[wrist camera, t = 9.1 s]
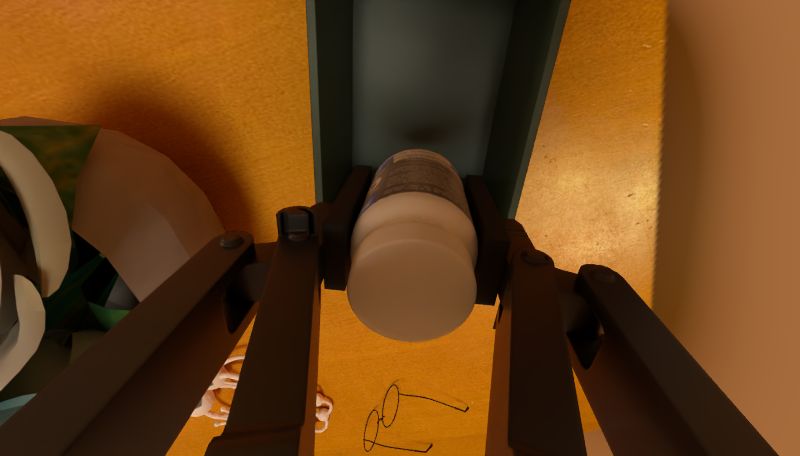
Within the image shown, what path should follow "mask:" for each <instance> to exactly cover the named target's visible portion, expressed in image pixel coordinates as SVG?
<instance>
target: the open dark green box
mask: <svg viewBox="0 0 800 456" xmlns="http://www.w3.org/2000/svg"><path fill="white" fill-rule="evenodd" d="M570 3H571V0H306V18H307V38H308V58H309V79H310V99H311V119H312V139H313V159H314V179H315V199H316V204H317V203H319V202H328V203H334V202H335V200H336V199H337V197H338V195H339V194H340V192H341V190H342V189H343V187H344V185H345V184H346V182H347V180H348V179H349V177H350V175H351V174H352V172H353V170H354V169H355V167H356V165H367V166H372V179H371V182H372V180H373V177H374V175H375V174H376V172H377V170H378V169H379V167H380V166H381V165H382V164H383V163H384V162H385V161H386V160H387V159H389V158H390V157H391V156H393V155H395V154H397V153H399V152H402V151H405V150H412V149H422V150H428V151H432V152H435V153H437V154H439V155H441V156H443V157H444V158H446V159H447V160H448V161H449V162H450V163H451V164H452V165H453V166H454V168H455V169H456V171H457V172H458V174H459V176H460V179H461V181H462V185H463V187H464V185H465V180H466V174H467V175H478V176H482V178H483V180H484V182H485V184H486V187H487V189H488V191H489V193H490V195H491V198H492V200H493V202H494V204H495V206H496V209H497V211H498V213H499V215H500V217H501V218H509V219H515V216H516V212H517V208H518V204H519V200H520V196H521V193H522V189H523V185H524V181H525V177H526V173H527V169H528V166H529V162H530V158H531V154H532V150H533V146H534V142H535V138H536V135H537V131H538V127H539V123H540V119H541V115H542V111H543V108H544V104H545V100H546V96H547V92H548V88H549V84H550V80H551V77H552V73H553V69H554V65H555V61H556V57H557V53H558V50H559V46H560V42H561V38H562V34H563V30H564V26H565V22H566V19H567V15H568V11H569V7H570Z"/></svg>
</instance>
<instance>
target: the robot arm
mask: <svg viewBox="0 0 800 456" xmlns="http://www.w3.org/2000/svg"><path fill="white" fill-rule="evenodd" d="M371 179H372V166H367V165H356V167H355V169H354V170H353V172H352V174H351V175H350V177H349V179H348V180H347V182H346V184H345V185H344V187H343V189H342V190H341V192H340V194H339V195H338V197H337V199H336V200H335V202H334V203H328V202H319V203H317V204H315V205H313V206H311V208H310V207H306V206H292V207H287V208H284V209H282V210H280V211H278V213H277V214H276V218H277V227H278V240H277V241H276V242H270V243H259V244H254V238H253V236H252V235H251V234H249V233H246V232H236V231H231V232H226V233H224V234H221V235H218V236H216V237H215V238H213V239H212V240H211V241H209V242H208V243H207V244H206V245H205V246H204V247H203V248H202V249H200V250H199V251H198V252H197V253H196V254H195V255H194V256H192V257H191V258H190V259H189V260H188V261H187V262H186V263H185V264H183V265H182V266H181V267H180V268H179V269H178V270H177V271H175V272H174V273H173V274H172V275H171V276H170V277H169V278H168V279H166V280H165V281H164V282H163V283H162V284H161V285H160V286H158V287H157V288H156V289H155V290H154V291H153V292H152V293H151V294H149V295H148V296H147V297H146V298H145V299H144V300H143V301H141V302H140V303H139V304H138V305H137V306H136V307H135V308H134V309H132V310H131V311H130V312H129V313H128V314H127V315H126V316H124V317H123V318H122V319H121V320H120V321H119V322H118V323H117V324H115V325H114V326H113V327H112V328H111V329H110V330H109V331H107V332H106V333H105V334H104V335H103V336H102V337H101V338H100V339H98V340H97V341H96V342H95V343H94V344H93V345H92V346H91V347H89V348H88V349H87V350H86V351H85V352H84V353H83V354H81V355H80V356H79V357H78V358H77V359H76V360H75V361H74V362H72V363H71V364H70V365H69V366H68V367H67V368H66V369H64V370H63V371H62V372H61V373H60V374H59V375H58V376H57V377H55V378H54V379H53V380H52V381H51V382H50V383H49V384H47V385H46V386H45V387H44V388H43V389H42V390H41V391H40V392H38V393H37V394H36V395H35V396H34V397H33V398H32V399H30V400H29V401H28V402H27V403H26V404H25V405H24V406H23V407H21V408H20V409H19V410H18V411H17V412H16V413H15V414H13V415H12V416H11V417H10V418H9V419H8V420H7V421H6V422H4V423H3V424H2V425H1V426H0V456H165V455H166V453H167V452H168V450H169V449H170V447H171V446H172V444H173V442H174V441H175V439H176V438H177V436H178V435H179V433H180V432H181V430H182V428H183V427H184V425H185V424H186V422H187V421H188V419H189V418H190V416H191V414H192V413H193V411H194V410H195V408H196V407H197V405H198V404H199V402H200V400H201V399H202V397H203V396H204V394H205V393H206V391H207V390H208V388H209V386H210V385H211V383H212V382H213V380H214V379H215V377H216V376H217V374H218V372H219V371H220V369H221V368H222V366H223V365H224V363H225V362H226V360H227V358H228V357H229V355H230V354H231V352H232V351H233V349H234V348H235V346H236V344H237V343H238V341H239V340H240V338H241V337H242V335H243V333H244V332H245V330H246V329H247V327H248V326H249V324H250V323H251V321H252V319H253V318H254V316H255V315H256V313H257V315H256V318H255V322H254V325H253V329H252V333H251V336H250V340H249V343H248V347H247V350H246V354H245V358H244V361H243V365H242V368H241V372H240V375H239V379H238V383H237V386H236V390H235V393H234V397H233V400H232V404H231V408H230V411H229V415H228V418H227V422H226V425H225V428H224V431H223V433H222V434H221V436H217V437H213V439H212V440H211V442H210V443H209V445H208V447H207V450H206V452H205V455H204V456H314V445H315V422H316V399H317V377H318V354H319V332H320V309H321V283H322V281H323V279H324V288H325V289H331V290H341V291H345V289H346V286H347V282H348V277H349V273H350V269H351V263H352V262H351V257H350V240H351V235H352V232H353V229H354V226H355V223H356V221H357V218H358V215H359V213H360V211H361V208H362V206H363V203H364V201H365V198H366V195H367V193H368V190H369V187H370V185H371ZM464 191H465V195H466V199H467V203H468V206H469V210H470V214H471V217H472V221H473V224H474V228H475V231H476V235H477V238H478V258H477V263H476V267H475V269H474V274H475V279H476V284H477V295H476V301H475V304H482V305H492V306H494V305H495V301H496V298H497V294H498V296H499V299H500V304H499V307H498V311H497V315H496V319H495V322H494V326H493V329H496V332H495V344H494V355H493V367H492V379H491V391H490V402H489V414H488V426H487V438H486V449H485V456H587V452H586V446H585V440H584V435H583V429H582V423H581V417H580V411H579V406H578V400H577V394H576V388H575V382H574V377H573V371H572V367H573V370H574V372H575V374H576V376H577V378H578V380H579V382H580V385H581V387H582V389H583V391H584V393H585V395H586V397H587V400H588V402H589V404H590V406H591V408H592V410H593V412H594V415H595V417H596V419H597V421H598V423H599V425H600V427H601V430H602V432H603V434H604V436H605V438H606V440H607V442H608V445H609V447H610V449H611V451H612V453H613V455H614V456H779V455H778V454H777V453H776V452H775V451H774V450H773V448H772V447H771V446H770V445H769V444H768V443H767V442H766V440H765V439H764V438H763V437H762V436H761V435H760V434H759V432H758V431H757V430H756V429H755V428H754V427H753V426H752V424H751V423H750V422H749V421H748V420H747V419H746V418H745V416H744V415H743V414H742V413H741V412H740V411H739V410H738V409H737V407H736V406H735V405H734V404H733V403H732V402H731V400H730V399H729V398H728V397H727V396H726V395H725V394H724V392H723V391H722V390H721V389H720V388H719V387H718V386H717V384H716V383H715V382H714V381H713V380H712V379H711V378H710V377H709V376H708V374H707V373H706V372H705V371H704V370H703V369H702V367H701V366H700V365H699V364H698V363H697V362H696V360H695V359H694V358H693V357H692V356H691V355H690V354H689V352H688V351H687V350H686V349H685V348H684V347H683V346H682V344H681V343H680V342H679V341H678V340H677V339H676V338H675V337H674V335H673V334H672V333H671V332H670V331H669V330H668V329H667V327H666V326H665V325H664V324H663V323H662V322H661V321H660V319H659V318H658V317H657V316H656V315H655V314H654V312H653V311H652V310H651V309H650V308H649V307H648V306H647V304H646V303H645V302H644V301H643V300H642V299H641V298H640V296H639V295H638V294H637V293H636V292H635V291H634V290H633V288H632V287H631V286H630V285H629V284H628V283H627V282H626V280H625V279H624V278H623V277H622V276H621V275H619V274H618V273H617V272H615V271H613V270H611V269H610V268H608V267H605V266H602V265H595V264H585V265H582V266H581V267H580V269H579V272H578V274H575V273H572V272H568V271H564V270H561V269H558V268H555V267H554V262H553V260H552V258H551V257H550V256H548V255H547V254H545V253H543V252H541V251H539V250H536V249H535V248H534V246H533V244H532V242H531V240H530V239H529V238H528V235H527V233H526V232H525V230H524V228H523V226H522V225H521V224H520V223H519V222H517V221H516V220H515V219H509V218H501V217H500V215H499V213H498V211H497V209H496V206H495V204H494V202H493V200H492V198H491V195H490V193H489V191H488V189H487V187H486V184H485V182H484V180H483V178H482V176H478V175H467V174H466V180H465V185H464ZM602 332H604V334H603V333H602Z"/></svg>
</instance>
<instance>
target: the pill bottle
mask: <svg viewBox="0 0 800 456" xmlns="http://www.w3.org/2000/svg"><path fill="white" fill-rule="evenodd" d="M350 257H351V262H352V263H351V269H350V273H349V277H348V282H347V295H348V300H349V303H350V306H351V308H352V310H353V312H354V313H355V314H356V316H357V317H358V318H359V320H360V321H361V322H362V323H363V324H364V325H366V326H367V327H368V328H369V329H371V330H372V331H374V332H376V333H378V334H380V335H382V336H385V337H388V338H391V339H394V340H398V341H405V342H421V341H428V340H432V339H436V338H439V337H442V336H444V335H447V334H449V333H451V332H452V331H454V330H455V329H457V328H458V327H459V326H460V325H461V324H462V323H463V322H464V321H465V320H466V319H467V318H468V316H469V315H470V313H471V311H472V309H473V307H474V304H475V301H476V295H477V284H476V279H475V274H474V269H475V267H476V263H477V258H478V238H477V235H476V231H475V228H474V224H473V221H472V217H471V214H470V210H469V206H468V203H467V199H466V195H465V191H464V187H463V185H462V181H461V179H460V176H459V174H458V172H457V171H456V169H455V168H454V166H453V165H452V164H451V163H450V162H449V161H448V160H447V159H446V158H444V157H443V156H441V155H439V154H437V153H435V152H432V151H428V150H422V149H412V150H405V151H402V152H399V153H397V154H395V155H393V156H391V157H390V158H389V159H387V160H386V161H385V162H384V163H383V164H382V165H381V166H380V167H379V169H378V170H377V172H376V174H375V175H374V177H373V180H372V182H371V185H370V187H369V190H368V193H367V195H366V198H365V201H364V203H363V206H362V208H361V211H360V213H359V215H358V218H357V221H356V223H355V226H354V229H353V232H352V235H351V240H350Z"/></svg>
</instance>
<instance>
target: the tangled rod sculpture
mask: <svg viewBox="0 0 800 456" xmlns="http://www.w3.org/2000/svg"><path fill="white" fill-rule="evenodd" d="M244 358H245V355H239V356H234V357H231V358H229V359H227V360H226V362H225V363H224V365H225V364H227V363H229V362H231V361H234V360H238V359H244ZM239 375H240V374H237V373H232V372H228V371H227V369H226V368H225V367H224V366H222V368H221V369H220V371H219V372H218V374H217V376H216V377H215V379H214V380H213V382H212V383H213V384H214V385H212V386H210V387H209V388H208V390H207V391H206V393H205V394H204V396H203V397H202V406H201V407H199V408H197V409H195V410H194V411H193V413H192V414H191V416H194V417H198V416H202V415H206V416H208V417H211V418H213V419H224V420H227V418H228V415H229V411H228V410H226V407H225V406H223V407H221V409H220V410H221V412H226V413H228V414H219V413H215V412H212V411H210V409H211V408H212V406H213V404H214V401H215V394H214V392H213V390H214V389H217V388H232V389H235V388H236V386H237V383H238V382H231V381H226V379H227V378H231V379H235V380H238V379H239ZM322 403H326V404H328V405H329V406H330V408H329V410H328V409H326V408H322V409H320V410H319V412H317V411H316V417H318V419H319V420H320V421H325V426H324V427H323V428H322V429H317V426H316V424H315V432H316V433H318V432H322V431H325V430H326V428H327V427H328V418H329V416H330V412H331V411H332V408H333V406H332V403H331V402H330V401H328V400H323V396H322V395H321V394H320V393H317V399H316V407H318V406H320V405H321V404H322ZM225 424H226V422H222V423H219V422H218V421H217V422H215V423H214V426H215V427H218V426H220V425H225Z"/></svg>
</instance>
